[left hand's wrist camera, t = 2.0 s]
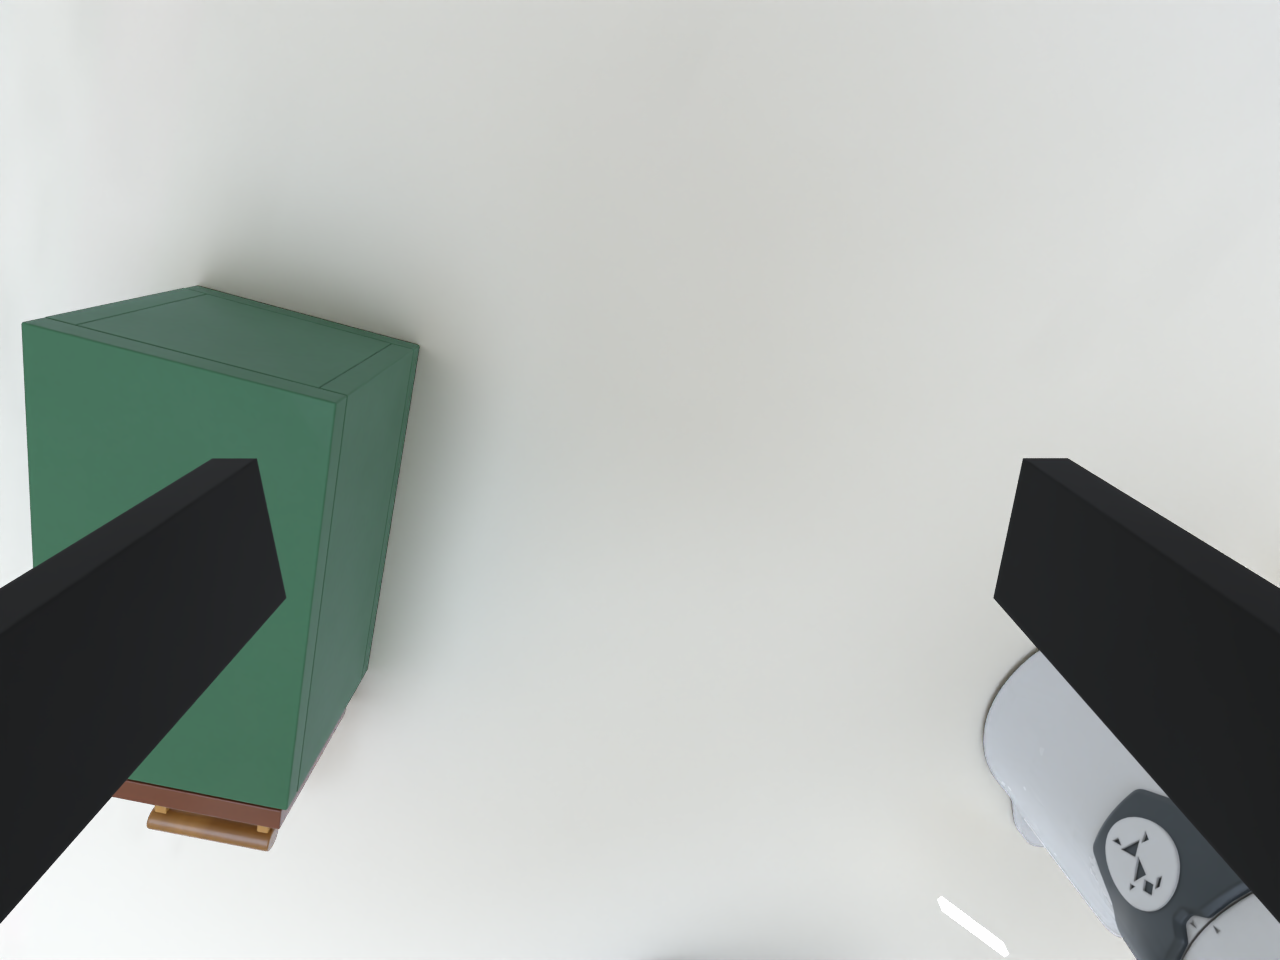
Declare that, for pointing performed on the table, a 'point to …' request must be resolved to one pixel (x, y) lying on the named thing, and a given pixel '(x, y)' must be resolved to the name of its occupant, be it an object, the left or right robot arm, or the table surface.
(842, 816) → the table surface
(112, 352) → the cabinet
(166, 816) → the drawer
